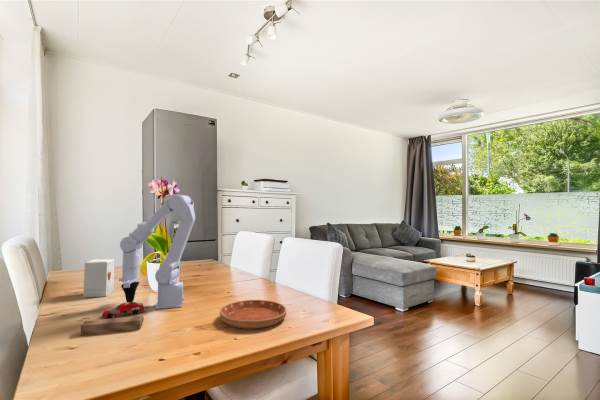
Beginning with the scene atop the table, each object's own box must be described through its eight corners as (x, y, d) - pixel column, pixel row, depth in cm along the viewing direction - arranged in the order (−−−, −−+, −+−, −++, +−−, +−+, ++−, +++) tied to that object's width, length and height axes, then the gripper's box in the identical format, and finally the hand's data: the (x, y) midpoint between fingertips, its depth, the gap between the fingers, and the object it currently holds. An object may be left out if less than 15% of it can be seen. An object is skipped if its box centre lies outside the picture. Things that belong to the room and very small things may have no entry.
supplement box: (106, 296, 132) (107, 261, 133) (82, 297, 130) (83, 262, 131) (114, 291, 141) (115, 258, 141) (92, 292, 139) (93, 258, 140)
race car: (101, 320, 106) (101, 308, 106) (102, 315, 110) (102, 304, 110) (144, 314, 112) (144, 303, 112) (143, 309, 117) (143, 299, 117)
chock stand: (144, 320, 105) (144, 311, 105) (139, 329, 97) (140, 320, 97) (89, 325, 100) (90, 316, 100) (80, 335, 92) (80, 325, 92)
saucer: (260, 304, 124) (260, 295, 124) (299, 320, 108) (299, 309, 108) (207, 318, 108) (207, 308, 108) (245, 339, 92) (245, 326, 92)
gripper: (123, 264, 127) (122, 297, 127) (114, 271, 113) (113, 308, 113) (142, 263, 129) (141, 296, 129) (135, 270, 115) (135, 306, 115)
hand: (130, 301), depth 121 cm, fingers closed
